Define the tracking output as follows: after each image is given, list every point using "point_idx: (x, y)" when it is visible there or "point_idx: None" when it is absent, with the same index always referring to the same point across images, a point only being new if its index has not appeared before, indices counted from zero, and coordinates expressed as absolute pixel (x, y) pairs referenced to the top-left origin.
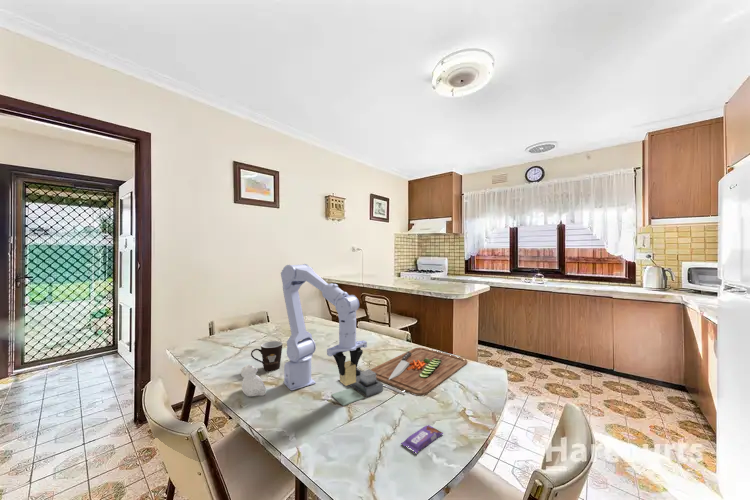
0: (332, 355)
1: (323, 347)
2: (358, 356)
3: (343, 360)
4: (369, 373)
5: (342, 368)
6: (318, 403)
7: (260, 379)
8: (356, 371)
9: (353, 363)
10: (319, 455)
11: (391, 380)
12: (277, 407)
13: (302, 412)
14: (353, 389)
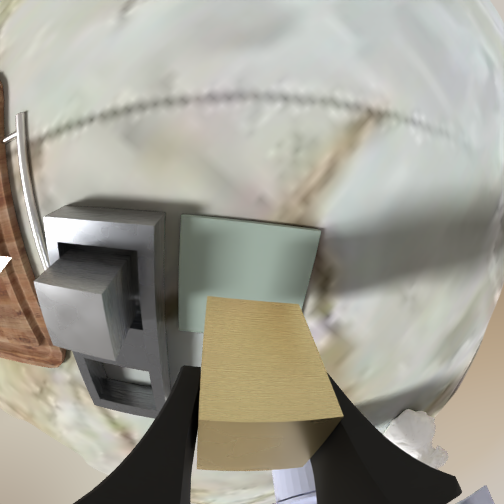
0: (468, 499)
1: None
2: (146, 498)
3: (400, 477)
4: (69, 309)
5: (357, 414)
6: (366, 316)
7: (406, 446)
8: (102, 391)
9: (205, 439)
10: (499, 93)
11: (4, 250)
12: (432, 356)
13: (429, 298)
14: (180, 311)
